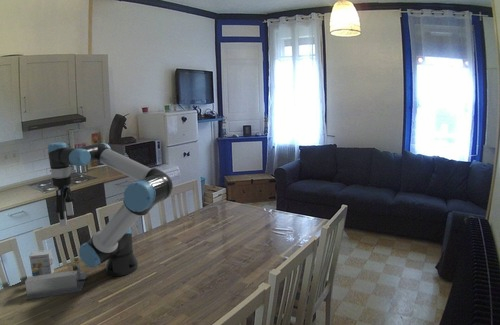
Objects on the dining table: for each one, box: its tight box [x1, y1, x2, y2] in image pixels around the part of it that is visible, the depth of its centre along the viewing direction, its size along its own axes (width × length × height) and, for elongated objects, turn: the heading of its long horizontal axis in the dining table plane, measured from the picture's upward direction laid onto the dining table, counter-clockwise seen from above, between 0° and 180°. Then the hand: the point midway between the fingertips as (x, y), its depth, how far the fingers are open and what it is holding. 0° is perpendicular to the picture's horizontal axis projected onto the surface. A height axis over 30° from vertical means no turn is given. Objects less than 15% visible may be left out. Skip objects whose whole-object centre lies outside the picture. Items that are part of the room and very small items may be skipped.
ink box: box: [28, 249, 55, 276], centre depth 165 cm, size 8×5×12 cm, turn 105°
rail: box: [24, 270, 79, 297], centre depth 152 cm, size 20×4×7 cm, turn 105°
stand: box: [31, 256, 89, 282], centre depth 159 cm, size 24×6×10 cm, turn 105°
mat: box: [25, 280, 86, 301], centre depth 153 cm, size 22×8×1 cm, turn 105°
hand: (67, 220), depth 159 cm, fingers open, 13 cm apart
